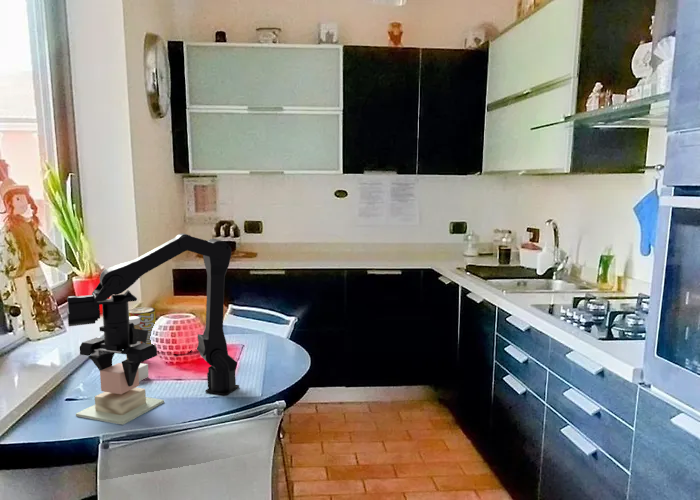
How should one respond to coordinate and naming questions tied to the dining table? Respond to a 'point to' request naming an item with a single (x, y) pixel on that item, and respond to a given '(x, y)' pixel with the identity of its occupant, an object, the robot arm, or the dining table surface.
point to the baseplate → (120, 419)
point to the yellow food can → (145, 319)
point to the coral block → (116, 380)
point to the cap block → (143, 371)
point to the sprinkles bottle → (135, 326)
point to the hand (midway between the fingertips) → (120, 384)
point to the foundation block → (120, 401)
